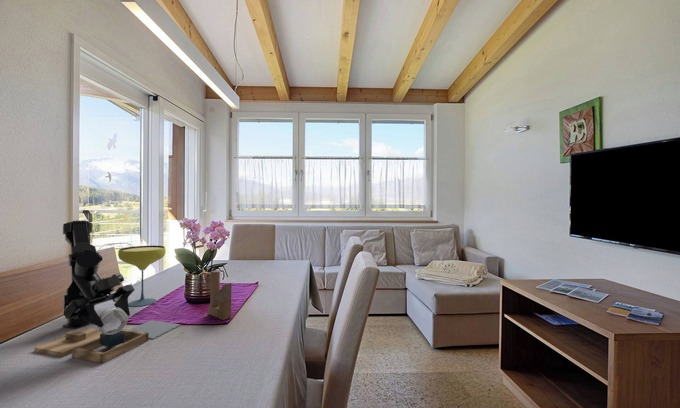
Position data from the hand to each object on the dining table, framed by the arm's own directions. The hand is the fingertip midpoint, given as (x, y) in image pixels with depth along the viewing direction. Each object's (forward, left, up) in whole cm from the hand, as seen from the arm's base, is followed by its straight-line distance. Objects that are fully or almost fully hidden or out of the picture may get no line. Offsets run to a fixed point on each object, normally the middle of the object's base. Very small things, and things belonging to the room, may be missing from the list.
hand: (116, 321), depth 95 cm
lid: (-16, -1, -9) cm, 19 cm away
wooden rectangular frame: (-1, 0, -9) cm, 9 cm away
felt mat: (-1, +14, -9) cm, 17 cm away
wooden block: (+14, +32, -9) cm, 36 cm away
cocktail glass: (-30, +36, -9) cm, 48 cm away
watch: (-1, 0, -7) cm, 7 cm away
